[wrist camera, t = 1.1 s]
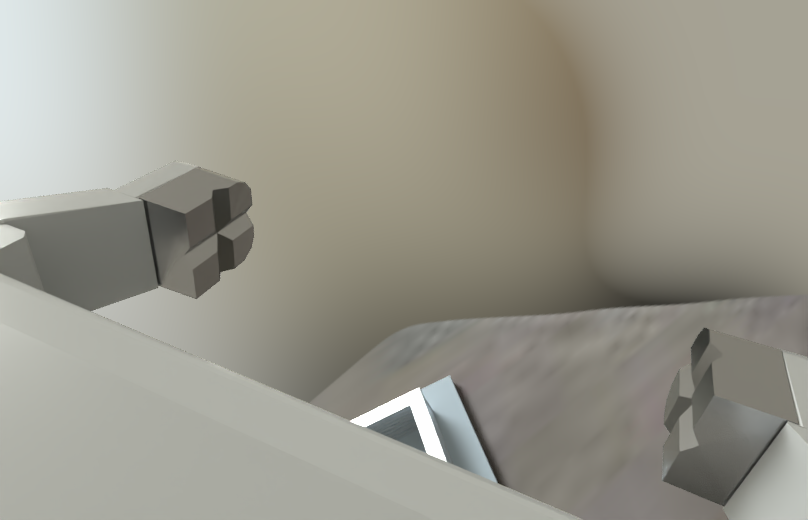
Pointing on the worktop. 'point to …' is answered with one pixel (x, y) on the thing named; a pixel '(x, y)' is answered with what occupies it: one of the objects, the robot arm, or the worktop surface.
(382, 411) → the slot bracket
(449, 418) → the base plate
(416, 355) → the worktop surface
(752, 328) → the worktop surface
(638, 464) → the worktop surface
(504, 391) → the worktop surface
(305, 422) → the robot arm
